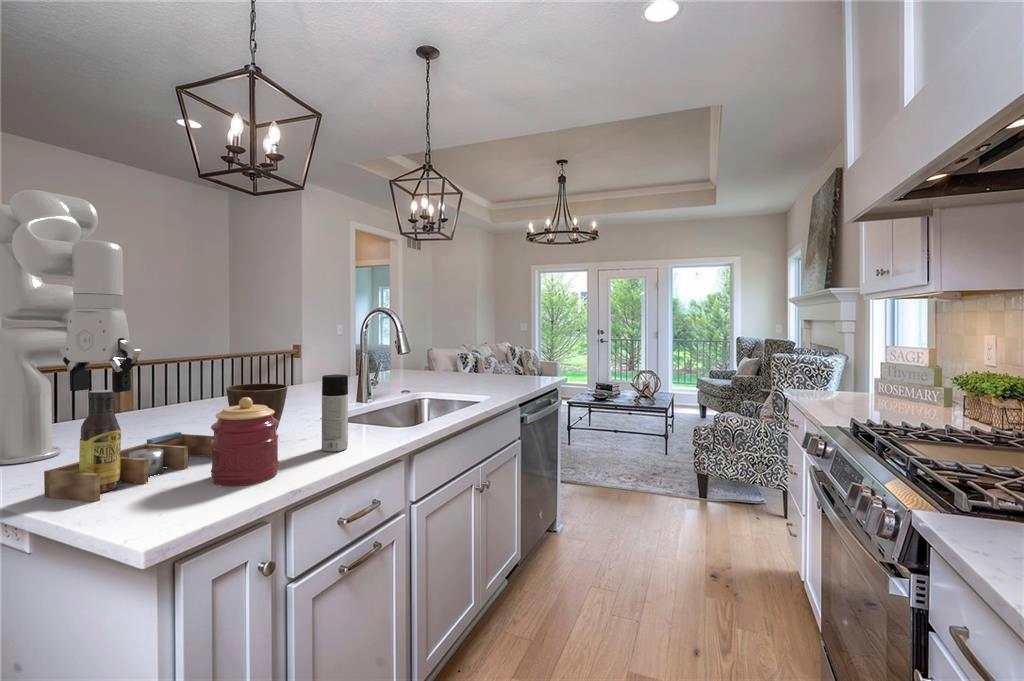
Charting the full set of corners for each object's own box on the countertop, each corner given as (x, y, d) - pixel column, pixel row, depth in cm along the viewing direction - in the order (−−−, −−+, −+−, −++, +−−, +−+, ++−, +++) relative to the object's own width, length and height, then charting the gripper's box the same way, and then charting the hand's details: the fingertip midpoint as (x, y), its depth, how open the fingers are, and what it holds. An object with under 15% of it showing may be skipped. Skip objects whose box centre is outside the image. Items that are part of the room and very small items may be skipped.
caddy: (43, 497, 90) (43, 467, 90) (180, 453, 121) (180, 430, 121) (94, 501, 88) (94, 471, 88) (220, 456, 119) (220, 433, 119)
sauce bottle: (95, 497, 91) (94, 394, 90) (70, 493, 92) (68, 392, 91) (129, 485, 97) (128, 389, 96) (105, 482, 98) (104, 388, 98)
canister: (216, 471, 108) (216, 394, 107) (280, 465, 113) (280, 391, 112) (205, 490, 96) (205, 403, 95) (276, 483, 101) (277, 400, 100)
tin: (121, 477, 102) (121, 454, 102) (147, 469, 108) (146, 447, 108) (145, 479, 101) (145, 456, 101) (170, 471, 107) (170, 449, 107)
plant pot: (284, 435, 142) (284, 382, 141) (290, 447, 129) (290, 388, 128) (226, 440, 134) (226, 384, 133) (226, 454, 121) (226, 391, 120)
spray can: (353, 448, 129) (353, 375, 128) (331, 454, 123) (332, 377, 122) (337, 444, 132) (337, 373, 132) (315, 449, 127) (316, 375, 126)
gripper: (40, 303, 91) (42, 392, 91) (118, 303, 88) (119, 394, 89) (81, 305, 98) (83, 387, 99) (154, 305, 96) (155, 389, 96)
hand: (100, 390), depth 94 cm, fingers open, 9 cm apart
